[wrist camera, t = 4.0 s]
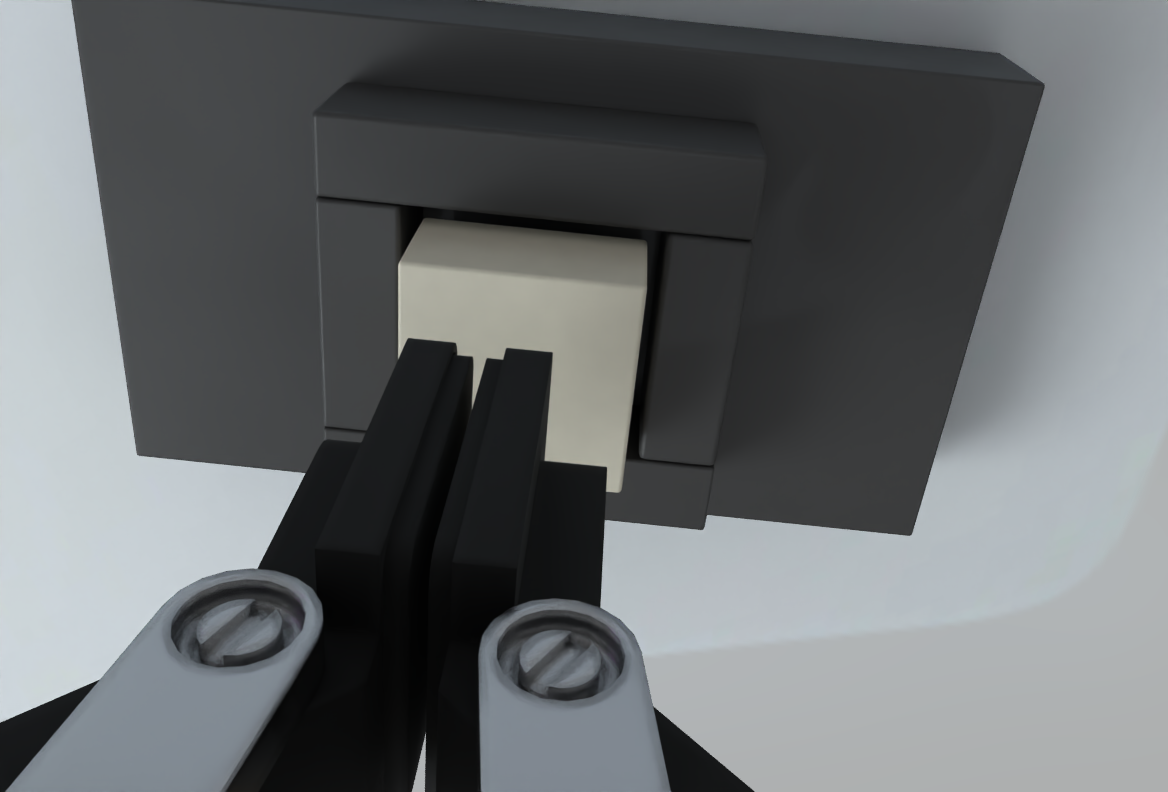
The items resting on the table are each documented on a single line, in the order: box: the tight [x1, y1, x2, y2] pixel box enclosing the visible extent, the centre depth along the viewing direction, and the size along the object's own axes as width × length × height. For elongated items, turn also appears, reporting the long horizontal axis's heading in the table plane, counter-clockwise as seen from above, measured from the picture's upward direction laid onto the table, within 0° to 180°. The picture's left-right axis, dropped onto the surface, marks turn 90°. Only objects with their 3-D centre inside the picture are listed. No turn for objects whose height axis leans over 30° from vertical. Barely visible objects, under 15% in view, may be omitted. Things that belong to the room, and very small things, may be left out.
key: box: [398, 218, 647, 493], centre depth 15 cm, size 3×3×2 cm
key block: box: [71, 0, 1045, 536], centre depth 17 cm, size 14×8×4 cm, turn 85°
